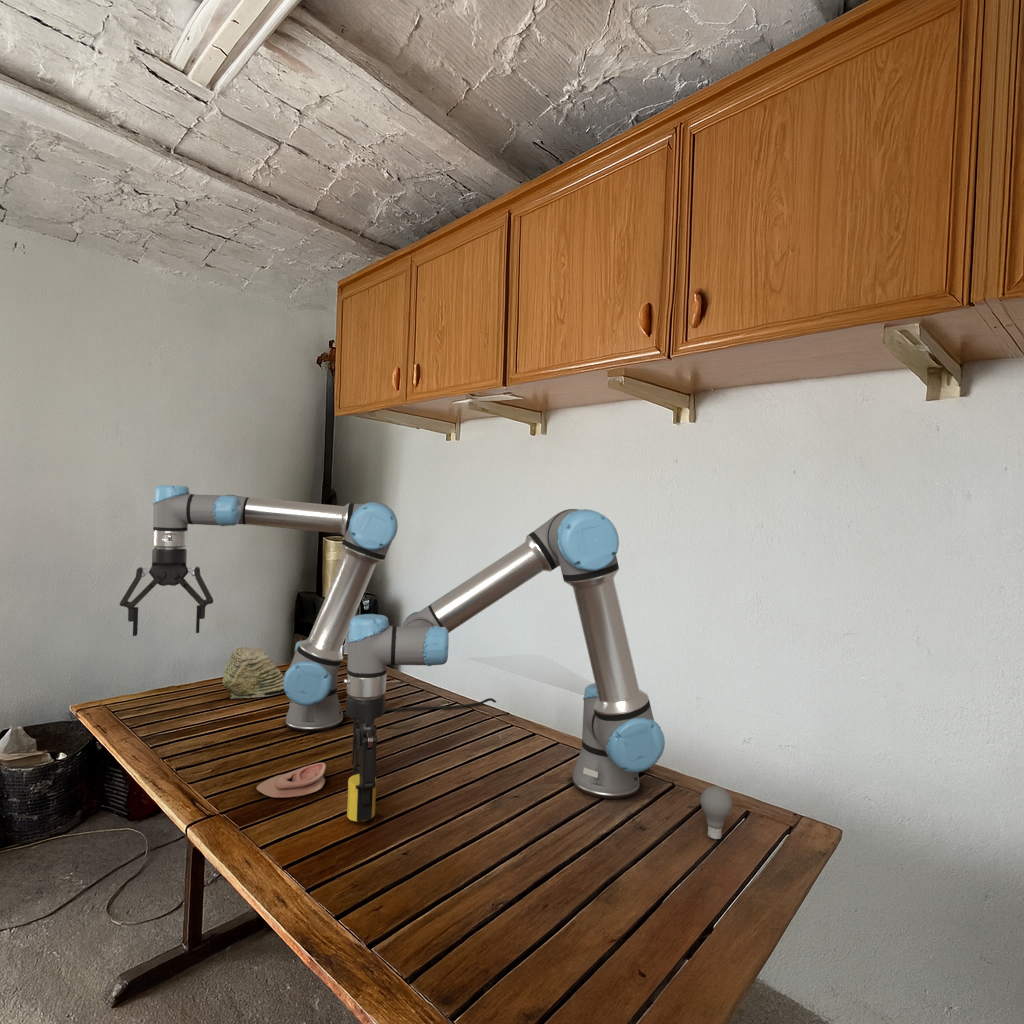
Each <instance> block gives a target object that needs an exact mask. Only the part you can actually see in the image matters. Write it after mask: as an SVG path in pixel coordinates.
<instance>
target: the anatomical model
mask: <svg viewBox="0 0 1024 1024" xmlns="http://www.w3.org/2000/svg"><path fill="white" fill-rule="evenodd" d="M326 768H327V765H326V763H325V762H316V763H313V764H309V765H306V766H302V767H300V768H297V769H294V770H292V771H289V772H286V773H282V774H278V775H275V776H273V777H270V778H267V779H265V780H264V781H262V782H261V783H259V784H258V785H256V790H257V792H259V793H261V794H263V795H264V796H267V797H270V798H275V799H278V798H293V797H294V798H295V797H300V796H301V797H302V796H306V795H309V794H312V793H315V792H318V791H320V790H321V789H322V788H323V787H324V785H325V783H326V778H325V777H324V775H325V772H326V770H327V769H326Z"/></svg>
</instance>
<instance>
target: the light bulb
mask: <svg viewBox="0 0 1024 1024" xmlns="http://www.w3.org/2000/svg"><path fill="white" fill-rule="evenodd" d="M699 802H700V808H701V809H702V810H703V814H704V815H705V818H706V820H705V821H706V823H707V836H708V837H709V838H711V839H712V840H720V839H721V838H722V835H723V834H722V833H723V832H722V831H723V830H722V829H723V827H724V825H725V821H726V819H727V818H728V817H729V816H730V814H731V812H732V809H733V804H734V803H733V800H732V797H731V795H730V793H729V792H728V791H727V790H726V789H725V788H724V787H722V786H719V785H710V786H707V787H706V788H705V789H704V790H703V791H702V792H701V795H700V798H699Z"/></svg>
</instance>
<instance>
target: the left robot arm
mask: <svg viewBox="0 0 1024 1024" xmlns="http://www.w3.org/2000/svg"><path fill="white" fill-rule="evenodd" d="M152 504H153V521H152V522H153V524H152V546H153V547H154V548H153V549H152V551H151V567H150V568H148V567H147V568H146V567H143V566H138V568H136V572H135V577H134V579H133V581H132V582H131V583H130V585H129V587H128V589H127V590H126V592H125V594H124V595H123V597H122V598H121V600H120V602H119V606H120V607H124V608H127V620H128V622H129V623H130V622H131V623H132V637H136V636H137V635H138V628H139V627H138V626H139V606H137V605H138V604H139V603H140V602H141V601H142V600H143V599H144V597H146V596H147V595H148V594H149V593H150V592H151V591H152V590H153V589H154V588H155V587H156V586H157V585H158V586H161V587H166V586H173V587H176V586H178V585H180V586H181V587H182V588H183V589H184V590H185V592H187V593H188V594H189V595H190V596H191V597H192V598H193V600H194V601H195V602H196V603H197V604H198V605H196V616H195V617H196V618H195V619H196V621H195V633H196V634H200V626H201V625H200V623H201V620H205V618H206V606H208V605H212V604H214V598H213V596H212V594H211V592H210V591H209V589H208V586H207V584H206V583H205V581H204V579H203V577H202V575H201V568H200V566H199V565H198V566H194V567H188V565H187V561H188V560H187V559H188V556H187V555H188V550H187V548H185V547H187V546H188V532H189V531H188V529H189V527H188V526H189V525H200V526H201V525H202V526H203V525H204V526H220V527H229V526H233V527H234V526H236V525H244V526H245V525H246V526H257V527H259V526H260V527H267V528H268V527H269V528H279V529H287V530H288V529H290V530H300V531H310V532H319V533H321V532H322V533H330V534H331V533H332V534H341V535H342V536H343V540H342V541H341V547H342V550H343V555H342V557H341V559H340V562H339V564H338V567H337V569H336V571H335V574H334V577H333V579H332V580H331V583H330V586H329V588H328V591H327V593H326V595H325V598H324V600H323V602H322V605H321V607H320V608H319V612H318V614H317V616H316V619H315V621H314V623H313V626H312V627H311V628H312V629H311V631H310V633H309V636H308V638H307V639H303V640H299V641H297V642H296V643H295V648H294V655H293V658H292V660H291V662H290V665H289V667H288V669H287V670H286V671H285V673H284V674H283V676H284V681H283V687H284V693H285V695H286V697H287V698H288V699H289V700H290V701H291V702H289V708H288V711H287V713H286V715H285V726H286V728H287V729H289V730H291V731H294V732H295V731H296V732H301V733H316V732H325V731H329V730H332V729H335V728H337V727H339V726H340V725H342V723H343V722H344V716H347V715H346V712H343V709H342V706H341V702H340V699H339V695H338V682H339V681H338V680H339V679H338V677H339V669H340V666H341V664H342V662H343V659H344V656H343V653H342V651H341V648H342V646H343V644H344V642H345V640H346V638H347V634H348V633H349V626H350V620H351V619H352V618H353V617H355V616H356V613H357V611H358V609H359V607H360V603H361V601H362V598H363V596H364V594H365V592H366V589H367V586H368V585H369V582H370V579H371V577H372V575H373V572H374V570H375V568H376V565H378V564H380V563H382V562H384V561H385V559H386V556H387V554H388V553H389V550H390V547H391V545H392V543H393V541H394V539H395V537H396V535H397V532H398V525H399V524H398V519H397V516H396V514H395V512H394V511H393V509H392V508H391V507H390V506H388V505H386V504H384V503H381V502H375V501H373V502H367V503H350V502H348V503H347V504H345V505H334V504H323V503H313V502H305V501H303V502H302V501H292V500H283V499H273V498H262V497H261V498H260V497H251V496H249V497H248V496H242V495H241V496H240V495H235V494H195V493H190V488H189V487H188V486H186V485H165V484H159V485H157V486H156V487H155V490H154V497H153V503H152ZM147 574H149V575H150V576H151V577H152V580H151V581H150V582H149V583H148V584H147V585H146V586H145V587H144V588H143V589H142V590H141V591H140V592H139V593H138V594H137V595H136V596H135V597H134V598H133V600H132V601H129V600H130V598H131V596H132V594H133V593H134V591H135V590H136V588H137V587H138V584H139V583H140V581H141V579H142V578H144V577H145V576H147ZM188 574H190V575H191V576H192V577H195V580H196V582H197V584H198V586H199V588H200V590H201V592H202V594H203V596H204V597H205V599H204V598H203V597H202V596H201V595H200V594H199V593H198V592H197V591H196V590H195V589H194V588H193V587H192V586H191V585H190V583H189V582H188V581H187V580H186V579H185V577H186V576H187V575H188ZM487 702H493V703H495V704H496V703H497V700H495V699H494V698H492V697H489V698H486V699H484V700H481V701H479V702H478V701H477V702H473V703H466V704H465V703H464V704H458V705H437V706H436V705H435V706H408V707H407V706H405V707H392V708H385V713H387V712H394V711H396V712H397V711H412V710H413V711H414V710H415V711H416V710H448V709H459V708H460V709H461V708H470V707H475V706H480V705H483V704H485V703H487Z"/></svg>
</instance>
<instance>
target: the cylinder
mask: <svg viewBox="0 0 1024 1024" xmlns="http://www.w3.org/2000/svg"><path fill="white" fill-rule="evenodd" d="M375 783H376V784H377V777H376V776H375ZM355 785H359V774H356V775H353V774H352V775H351V776H350V777H349V778H348V780H347V805H346V807H347V808H346V817H347V819H348V820H349V821H351V822H358V823H359V822H361V821H357V798H358V789H356V786H355ZM376 796H377V785H376V786H375V788H373V795H372V819H373V818H374V817H375V815H376V801H377V800H376V799H377V797H376ZM366 821H368V820H364V821H363V822H366Z"/></svg>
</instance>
